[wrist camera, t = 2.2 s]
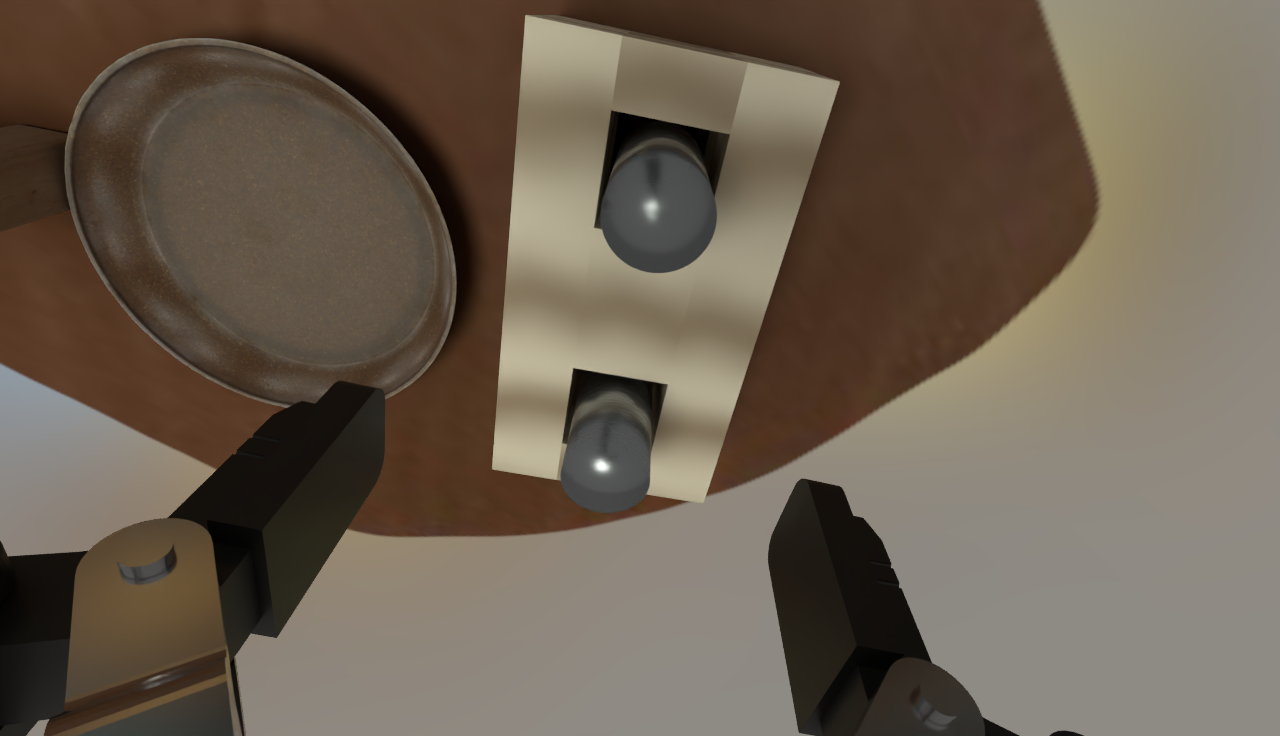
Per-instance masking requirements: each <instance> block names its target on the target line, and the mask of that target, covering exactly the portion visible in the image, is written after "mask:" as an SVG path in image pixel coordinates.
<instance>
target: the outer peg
mask: <svg viewBox="0 0 1280 736" xmlns="http://www.w3.org/2000/svg"><path fill="white" fill-rule="evenodd" d="M651 425H652V382H651V381H645V380H639V379H634V378H628V377H622V376H616V375H611V374H605V373H599V372H594V371H588V370H585V372H584V373H583V376H582V379H581V383H580V388H579V392H578V397H577V401H576V406H575V411H574V415H573V420H572V424H571V429H570V433H569V438H568V442H567V447H566V451H565V456H564V460H563V465H562V469H561V476H560V478H561V484H562V487H563V489H564V491H565V492H566V494H567V495H568V496H569V498H570V499H572V500H573V501H574V502H575V503H577V504H578V505H580V506H582V507H584V508H586V509H588V510H592V511H596V512H602V513H613V512H620V511H624V510H627V509H629V508H631V507H633V506H635V505H636V504H638V503H639V502H640V501H641V500H642V499H643V498H644V497H645V495H646V494H647V492H648V489H649V486H650V464H651Z"/></svg>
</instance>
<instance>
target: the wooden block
mask: <svg viewBox="0 0 1280 736" xmlns="http://www.w3.org/2000/svg"><path fill="white" fill-rule="evenodd" d="M67 136H68V134H66V133H61V132H56V131H51V130H46V129H41V128H36V127H30V126H25V125H20V124H18V125H12V126H6V127H0V232H1V231H4V230H7V229H10V228H13V227H17V226H20V225H23V224H26V223H29V222H32V221H35V220H38V219H41V218H44V217H47V216H50V215H53V214H57V213H60V212H63V211H66V210H69V209H70V205H69V201H68V197H67V190H66V181H65V180H66V178H65V146H66V141H67Z"/></svg>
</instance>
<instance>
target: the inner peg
mask: <svg viewBox="0 0 1280 736" xmlns="http://www.w3.org/2000/svg"><path fill="white" fill-rule="evenodd" d="M600 219H601V227H602V231H603V234H604V237H605V239H606V242H607V244H608V245H609V247H610V248H611V250H612V251H613V252H614V253H615V255H616V256H617V257H618V258H620V259H621V260H622V261H623V262H625V263H626V264H627V265H629V266H631V267H633V268H635V269H638V270H640V271H644V272H649V273H667V272H672V271H676V270H679V269H681V268H684V267H686V266H687V265H689V264H691V263H692V262H693V261H695V260H696V259H697V258H698V257H699V256H700V255H701V254H702V253H703V252H704V251H705V250H706V248H707V247H708V245H709V243H710V241H711V239H712V237H713V235H714V232H715V228H716V223H717V208H716V203H715V198H714V195H713V191H712V188H711V184H710V181H709V178H708V174H707V171H706V167H705V164H704V160H703V157H702V153H701V151H700V148H699V146H698V144H697V142H696V141H695V139H694V138H693V137H692V136H691V135H690V134H689V133H688V132H687V131H686V130H684V129H683V128H681V127H679V126H677V125H675V124H672V123H668V122H652V123H648V124H645V125H643V126H640V127H638V128H637V129H635V130H634V131H633V132H631V133H630V134H629V135H628V136H627V137H626V139H625V140H624V141H623V143H622V145H621V147H620V148H619V151H618V154H617V157H616V160H615V163H614V166H613V169H612V172H611V175H610V178H609V182H608V185H607V188H606V191H605V194H604V197H603V200H602V205H601V212H600Z"/></svg>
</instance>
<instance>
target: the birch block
mask: <svg viewBox="0 0 1280 736" xmlns="http://www.w3.org/2000/svg"><path fill="white" fill-rule="evenodd" d="M839 84H840V82H839V81H836V80H833V79H831V78H828V77H825V76H823V75H820V74H817V73H814V72H812V71H809V70H806V69H803V68H801V67H798V66H793V65H788V64H784V63H779V62H774V61H770V60H765V59H760V58H756V57H751V56H746V55H742V54H737V53H732V52H727V51H723V50H718V49H713V48H709V47H704V46H699V45H695V44H690V43H685V42H681V41H676V40H671V39H667V38H662V37H657V36H652V35H648V34H643V33H638V32H634V31H629V30H624V29H620V28H615V27H610V26H606V25H601V24H596V23H592V22H587V21H582V20H578V19H573V18H568V17H563V16H559V15H525V29H524V43H523V56H522V70H521V83H520V97H519V110H518V124H517V138H516V151H515V165H514V178H513V192H512V205H511V219H510V233H509V246H508V260H507V273H506V287H505V301H504V314H503V328H502V341H501V355H500V368H499V382H498V396H497V409H496V423H495V436H494V450H493V464H492V469H493V470H499V471H506V472H512V473H518V474H524V475H530V476H537V477H543V478H549V479H555V480H561V478H560V476H561V469H562V465H563V460H564V456H565V451H566V447H567V442H568V438H569V433H570V429H571V424H572V420H573V415H574V411H575V406H576V401H577V397H578V392H579V388H580V383H581V379H582V376H583V373H584V372H585V370H588V371H594V372H599V373H605V374H611V375H616V376H622V377H628V378H634V379H639V380H645V381H651V382H652V425H651V464H650V486H649V489H648V492H647V494H648V495H654V496H660V497H667V498H673V499H679V500H685V501H691V502H698V503H704V500H705V497H706V494H707V491H708V488H709V485H710V482H711V478H712V475H713V472H714V469H715V466H716V463H717V460H718V457H719V454H720V451H721V448H722V445H723V441H724V438H725V435H726V432H727V429H728V426H729V423H730V420H731V417H732V414H733V411H734V408H735V404H736V401H737V398H738V395H739V392H740V389H741V386H742V383H743V380H744V377H745V374H746V371H747V367H748V364H749V361H750V358H751V355H752V352H753V349H754V346H755V343H756V340H757V337H758V334H759V330H760V327H761V324H762V321H763V318H764V315H765V312H766V309H767V306H768V303H769V300H770V297H771V293H772V290H773V287H774V284H775V281H776V278H777V275H778V272H779V269H780V266H781V263H782V260H783V256H784V253H785V250H786V247H787V244H788V241H789V238H790V235H791V232H792V229H793V226H794V223H795V219H796V216H797V213H798V210H799V207H800V204H801V201H802V198H803V195H804V192H805V189H806V186H807V183H808V179H809V176H810V173H811V170H812V167H813V164H814V161H815V158H816V155H817V152H818V149H819V146H820V142H821V139H822V136H823V133H824V130H825V127H826V124H827V121H828V118H829V115H830V112H831V109H832V105H833V102H834V99H835V96H836V93H837V90H838V87H839ZM619 112H622V113H627V114H632V115H637V116H642V117H647V118H652V119H657V120H662V121H666V122H671V123H676V124H681V125H686V126H691V127H696V128H701V129H706V130H710V131H709V135H708V139H707V144H706V148H705V152H704V157H703V160H704V164H705V167H706V171H707V174H708V178H709V181H710V184H711V188H712V191H713V195H714V198H715V203H716V208H717V223H716V228H715V232H714V235H713V237H712V239H711V241H710V243H709V245H708V247H707V248H706V250H705V251H704V252H703V253H702V254H701V255H700V256H699V257H698V258H697V259H696V260H695V261H693V262H692V263H691V264H689V265H687V266H686V267H684V268H681V269H679V270H676V271H672V272H667V273H649V272H644V271H640V270H638V269H635V268H633V267H631V266H629V265H627V264H626V263H625V262H623V261H622V260H621V259H620V258H618V257H617V256H616V255H615V253H614V252H613V251H612V250H611V248H610V247H609V245H608V244H607V242H606V239H605V237H604V234H603V231H602V227H601V219H600V212H601V205H602V200H603V197H604V194H605V191H606V188H607V185H608V181H609V175H610V168H611V162H612V156H613V149H614V143H615V136H616V130H617V123H618V117H619Z"/></svg>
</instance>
